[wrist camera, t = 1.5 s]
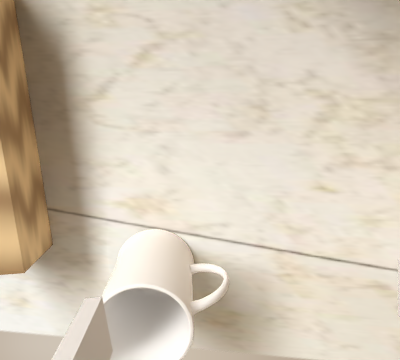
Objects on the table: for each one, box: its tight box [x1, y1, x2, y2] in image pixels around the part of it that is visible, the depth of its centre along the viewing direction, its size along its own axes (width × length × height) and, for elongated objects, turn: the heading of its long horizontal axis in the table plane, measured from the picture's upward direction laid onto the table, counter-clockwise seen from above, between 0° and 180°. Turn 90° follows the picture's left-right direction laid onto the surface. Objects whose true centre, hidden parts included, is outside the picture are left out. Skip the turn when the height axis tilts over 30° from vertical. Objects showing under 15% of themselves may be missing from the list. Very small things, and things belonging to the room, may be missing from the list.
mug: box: [102, 229, 229, 360], centre depth 33 cm, size 12×8×12 cm
